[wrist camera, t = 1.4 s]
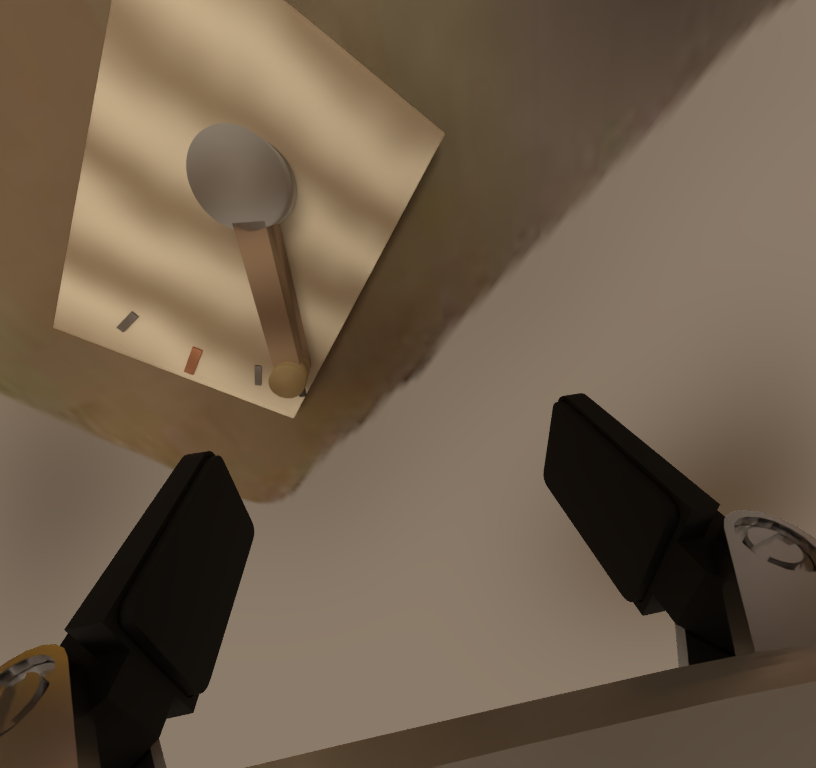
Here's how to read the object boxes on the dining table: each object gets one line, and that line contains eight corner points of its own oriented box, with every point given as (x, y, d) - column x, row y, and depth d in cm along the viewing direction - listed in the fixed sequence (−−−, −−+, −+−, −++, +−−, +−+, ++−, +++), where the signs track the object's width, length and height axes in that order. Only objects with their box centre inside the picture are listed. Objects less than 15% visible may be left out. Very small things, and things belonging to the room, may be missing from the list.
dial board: (165, -77, 18) (131, -128, 15) (435, 140, 24) (445, 132, 22) (82, 315, 27) (50, 328, 24) (298, 401, 33) (293, 419, 30)
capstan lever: (202, 139, 20) (159, 121, 16) (287, 134, 21) (268, 116, 16) (275, 390, 29) (261, 423, 24) (334, 383, 29) (330, 414, 25)
